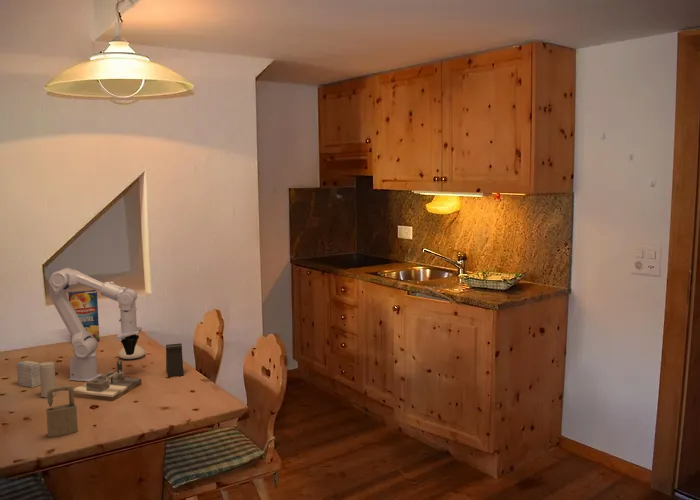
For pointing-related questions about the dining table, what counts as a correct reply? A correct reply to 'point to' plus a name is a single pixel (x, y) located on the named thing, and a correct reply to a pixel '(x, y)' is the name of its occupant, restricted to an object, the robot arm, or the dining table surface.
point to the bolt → (119, 369)
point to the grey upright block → (28, 374)
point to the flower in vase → (137, 352)
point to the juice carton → (86, 310)
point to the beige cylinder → (47, 378)
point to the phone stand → (174, 360)
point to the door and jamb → (107, 387)
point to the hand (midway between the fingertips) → (130, 354)
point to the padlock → (61, 414)
